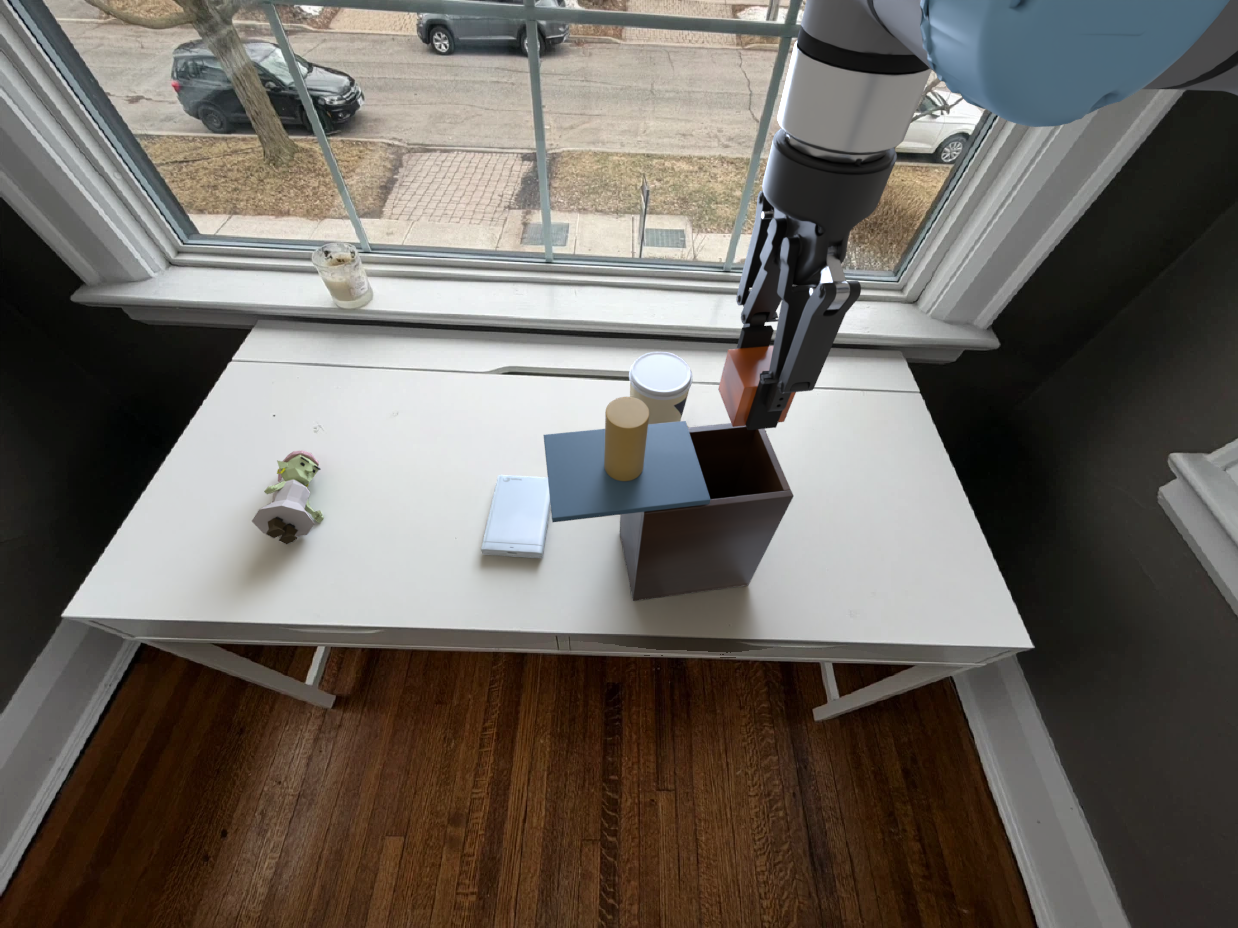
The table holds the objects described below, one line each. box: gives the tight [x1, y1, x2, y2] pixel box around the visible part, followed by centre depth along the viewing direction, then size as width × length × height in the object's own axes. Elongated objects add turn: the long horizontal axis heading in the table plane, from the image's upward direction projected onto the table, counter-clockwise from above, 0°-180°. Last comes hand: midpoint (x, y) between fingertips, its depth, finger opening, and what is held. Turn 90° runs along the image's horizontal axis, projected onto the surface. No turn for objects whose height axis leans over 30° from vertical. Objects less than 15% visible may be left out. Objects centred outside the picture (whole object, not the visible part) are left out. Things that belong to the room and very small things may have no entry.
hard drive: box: [480, 474, 551, 559], centre depth 77 cm, size 2×8×12 cm
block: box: [718, 345, 797, 427], centre depth 50 cm, size 5×5×5 cm
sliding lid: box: [543, 396, 711, 523], centre depth 53 cm, size 11×16×9 cm
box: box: [619, 422, 794, 602], centre depth 66 cm, size 11×16×21 cm
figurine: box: [251, 449, 325, 545], centre depth 75 cm, size 9×7×15 cm
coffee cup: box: [628, 351, 693, 424], centre depth 84 cm, size 9×9×12 cm
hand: (751, 403), depth 52 cm, fingers closed on block, 5 cm apart
